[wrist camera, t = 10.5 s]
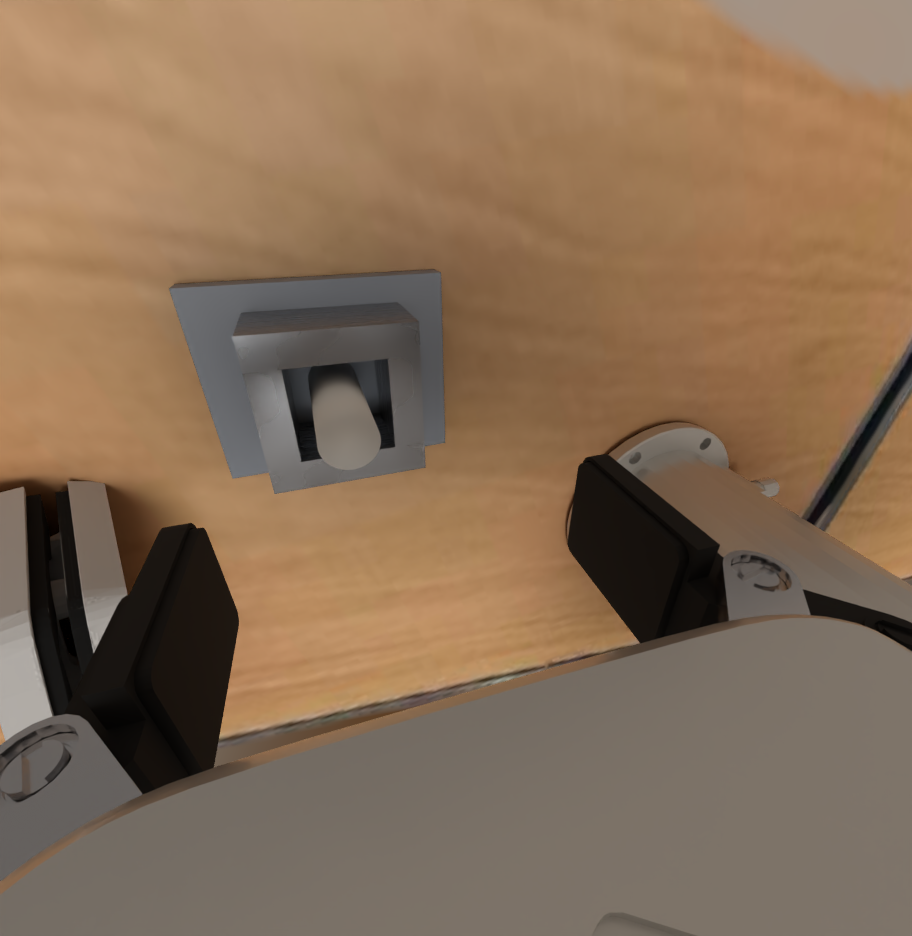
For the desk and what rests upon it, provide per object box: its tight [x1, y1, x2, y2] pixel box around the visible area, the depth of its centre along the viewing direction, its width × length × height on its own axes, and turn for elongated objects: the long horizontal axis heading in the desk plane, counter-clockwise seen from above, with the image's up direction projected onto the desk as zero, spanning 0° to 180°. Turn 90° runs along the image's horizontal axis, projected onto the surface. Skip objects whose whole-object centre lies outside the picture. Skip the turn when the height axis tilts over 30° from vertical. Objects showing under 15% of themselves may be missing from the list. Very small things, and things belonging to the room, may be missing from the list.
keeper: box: [169, 269, 445, 478], centre depth 17 cm, size 10×8×7 cm
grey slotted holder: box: [0, 481, 128, 741], centre depth 19 cm, size 17×5×10 cm, turn 167°
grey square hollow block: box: [232, 302, 425, 494], centre depth 17 cm, size 6×6×4 cm
